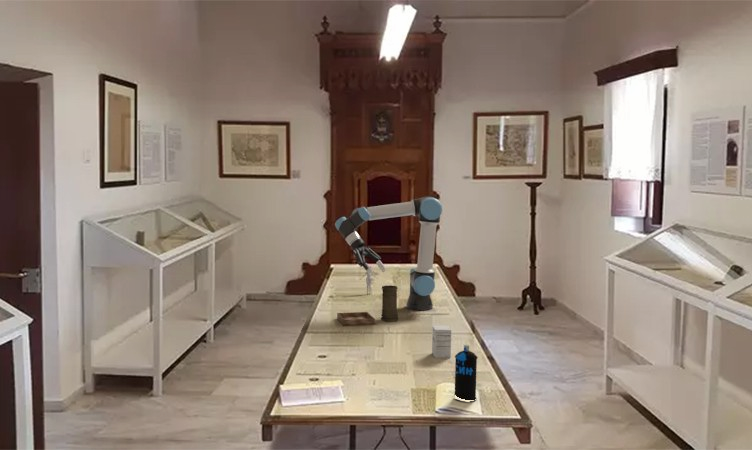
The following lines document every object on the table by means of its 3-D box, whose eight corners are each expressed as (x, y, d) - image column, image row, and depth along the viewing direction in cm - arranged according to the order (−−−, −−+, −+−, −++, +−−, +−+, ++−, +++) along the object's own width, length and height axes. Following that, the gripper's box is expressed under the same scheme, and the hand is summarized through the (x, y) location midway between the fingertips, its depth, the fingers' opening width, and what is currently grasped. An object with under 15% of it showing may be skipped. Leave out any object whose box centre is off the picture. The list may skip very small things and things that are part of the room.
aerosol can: (460, 393, 271) (461, 341, 269) (480, 397, 267) (481, 344, 265) (449, 399, 265) (451, 346, 262) (469, 404, 260) (471, 349, 258)
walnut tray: (367, 317, 392) (367, 311, 392) (374, 324, 376) (374, 318, 376) (337, 318, 388) (337, 313, 388) (343, 325, 372) (343, 320, 372)
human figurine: (377, 293, 456) (378, 265, 454) (378, 295, 452) (379, 266, 450) (358, 294, 454) (359, 265, 452) (359, 295, 451) (359, 266, 449)
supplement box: (431, 353, 324) (432, 325, 323) (447, 353, 325) (448, 325, 324) (434, 358, 317) (434, 329, 316) (450, 357, 318) (451, 329, 316)
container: (396, 322, 381) (396, 288, 379) (379, 321, 383) (379, 287, 381) (399, 318, 390) (399, 285, 388) (382, 317, 392) (383, 284, 390)
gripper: (363, 244, 406) (385, 273, 400) (338, 248, 385) (361, 279, 379) (371, 235, 403) (394, 265, 397) (347, 239, 381) (370, 270, 375)
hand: (378, 272), depth 388 cm, fingers open, 13 cm apart
